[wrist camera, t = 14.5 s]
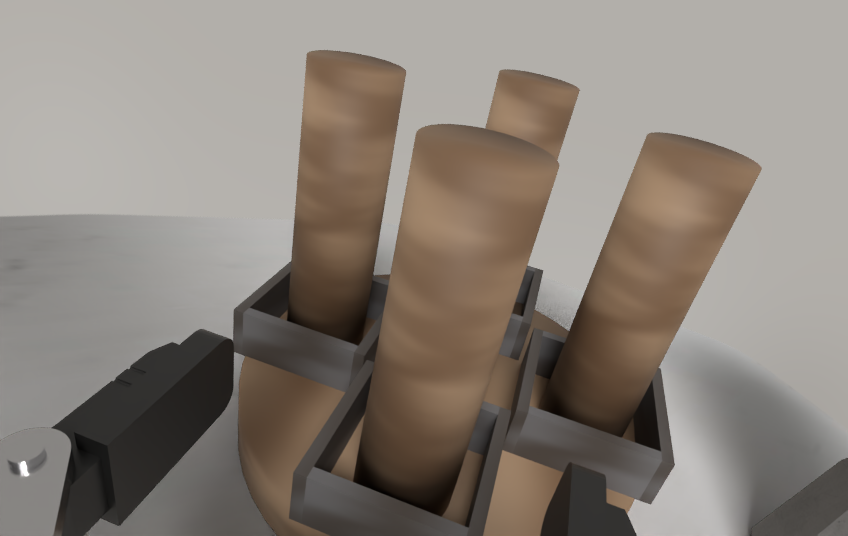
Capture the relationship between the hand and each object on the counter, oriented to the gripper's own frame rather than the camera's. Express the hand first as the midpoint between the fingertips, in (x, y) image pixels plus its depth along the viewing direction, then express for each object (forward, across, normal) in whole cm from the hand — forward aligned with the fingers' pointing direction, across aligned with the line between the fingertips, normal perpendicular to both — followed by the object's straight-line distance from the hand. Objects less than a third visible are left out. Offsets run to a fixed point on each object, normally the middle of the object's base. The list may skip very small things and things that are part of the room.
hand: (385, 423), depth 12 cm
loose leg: (+6, 0, +9) cm, 11 cm away
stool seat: (+13, 0, +12) cm, 18 cm away
